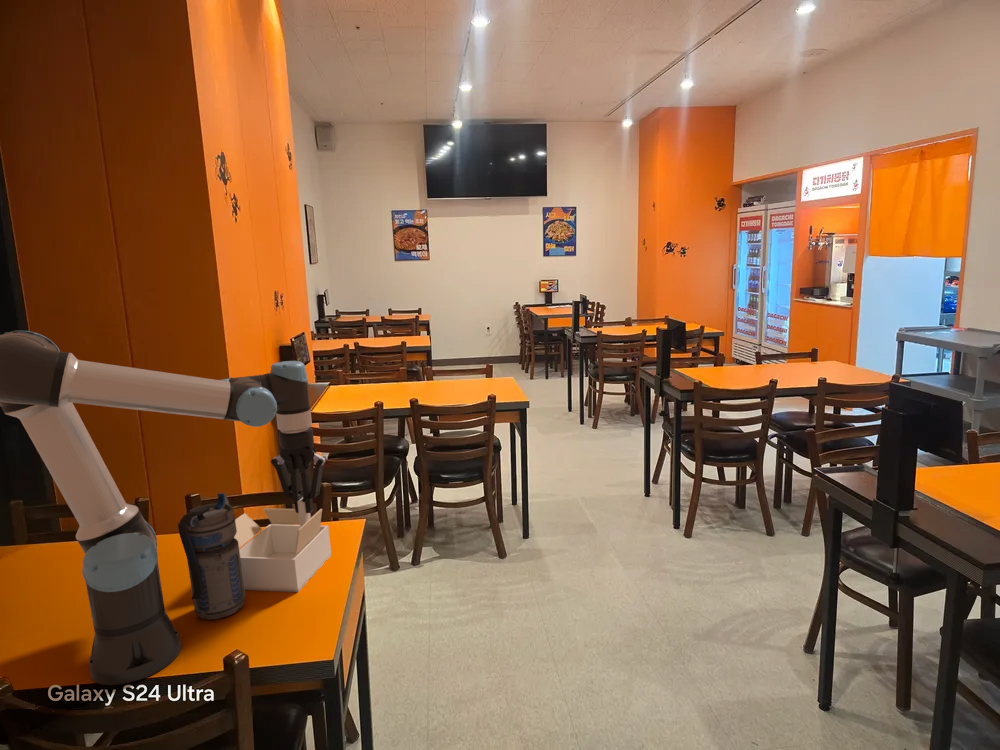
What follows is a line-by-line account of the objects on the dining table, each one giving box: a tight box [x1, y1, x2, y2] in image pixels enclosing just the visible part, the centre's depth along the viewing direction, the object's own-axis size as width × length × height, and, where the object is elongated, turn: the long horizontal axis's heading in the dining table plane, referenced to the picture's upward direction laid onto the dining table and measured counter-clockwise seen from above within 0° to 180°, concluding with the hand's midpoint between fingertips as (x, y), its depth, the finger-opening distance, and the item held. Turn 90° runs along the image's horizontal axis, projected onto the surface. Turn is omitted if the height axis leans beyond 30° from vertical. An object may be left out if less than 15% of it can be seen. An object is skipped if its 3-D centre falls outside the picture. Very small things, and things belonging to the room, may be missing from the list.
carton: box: [234, 512, 332, 593], centre depth 150 cm, size 18×20×13 cm
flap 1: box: [263, 507, 300, 525], centre depth 156 cm, size 6×11×1 cm
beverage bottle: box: [177, 492, 246, 621], centre depth 132 cm, size 10×13×25 cm
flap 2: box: [295, 508, 323, 554], centre depth 146 cm, size 12×6×1 cm
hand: (305, 525), depth 146 cm, fingers closed
